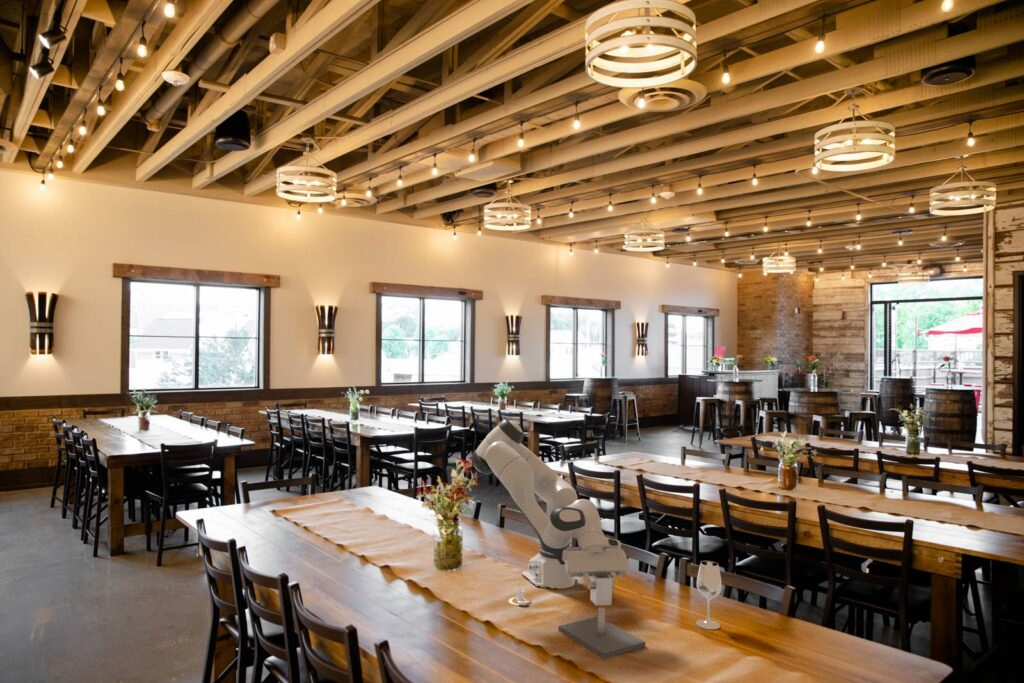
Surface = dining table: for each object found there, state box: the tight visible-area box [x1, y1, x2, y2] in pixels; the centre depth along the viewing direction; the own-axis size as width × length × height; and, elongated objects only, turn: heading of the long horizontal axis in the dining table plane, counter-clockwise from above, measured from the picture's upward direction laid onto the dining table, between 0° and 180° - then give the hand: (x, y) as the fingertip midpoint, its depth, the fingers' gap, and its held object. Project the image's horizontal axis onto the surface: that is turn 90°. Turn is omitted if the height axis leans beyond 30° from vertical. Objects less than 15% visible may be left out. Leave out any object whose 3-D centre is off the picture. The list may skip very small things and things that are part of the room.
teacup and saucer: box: [508, 588, 529, 606], centre depth 234 cm, size 9×8×4 cm
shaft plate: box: [557, 606, 646, 659], centre depth 205 cm, size 22×16×10 cm
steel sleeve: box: [589, 573, 613, 606], centre depth 206 cm, size 5×5×8 cm
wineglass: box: [695, 560, 722, 630], centre depth 219 cm, size 8×8×20 cm
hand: (601, 588), depth 205 cm, fingers closed on steel sleeve, 5 cm apart
